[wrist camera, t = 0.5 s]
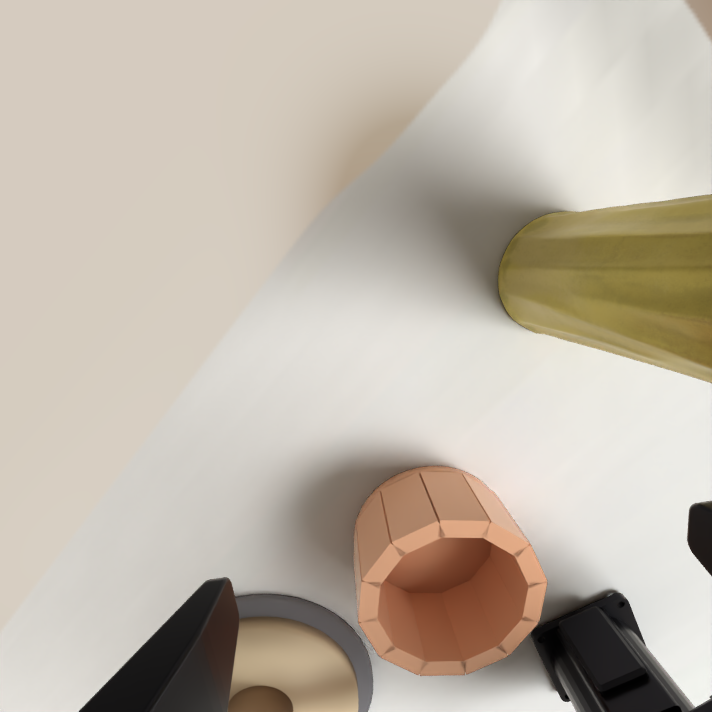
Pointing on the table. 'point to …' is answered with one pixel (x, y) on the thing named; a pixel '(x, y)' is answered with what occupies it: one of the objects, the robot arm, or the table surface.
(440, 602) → the bowl
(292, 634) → the lid
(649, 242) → the vase
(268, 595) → the mat
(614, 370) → the table surface
